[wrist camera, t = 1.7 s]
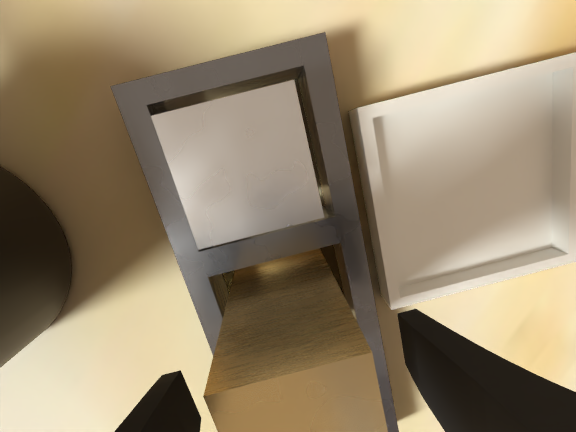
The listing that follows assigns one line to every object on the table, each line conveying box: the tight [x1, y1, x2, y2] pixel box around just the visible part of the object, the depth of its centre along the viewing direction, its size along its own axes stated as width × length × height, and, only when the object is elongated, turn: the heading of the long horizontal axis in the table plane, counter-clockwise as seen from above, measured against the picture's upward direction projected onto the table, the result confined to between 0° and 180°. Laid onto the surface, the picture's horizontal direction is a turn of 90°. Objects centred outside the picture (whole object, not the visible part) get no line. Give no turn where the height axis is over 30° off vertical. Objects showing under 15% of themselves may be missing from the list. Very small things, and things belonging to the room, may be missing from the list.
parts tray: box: [349, 52, 576, 310], centre depth 12 cm, size 9×9×1 cm
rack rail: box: [111, 32, 399, 432], centre depth 12 cm, size 20×7×4 cm, turn 14°
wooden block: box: [203, 248, 388, 432], centre depth 10 cm, size 4×4×7 cm
